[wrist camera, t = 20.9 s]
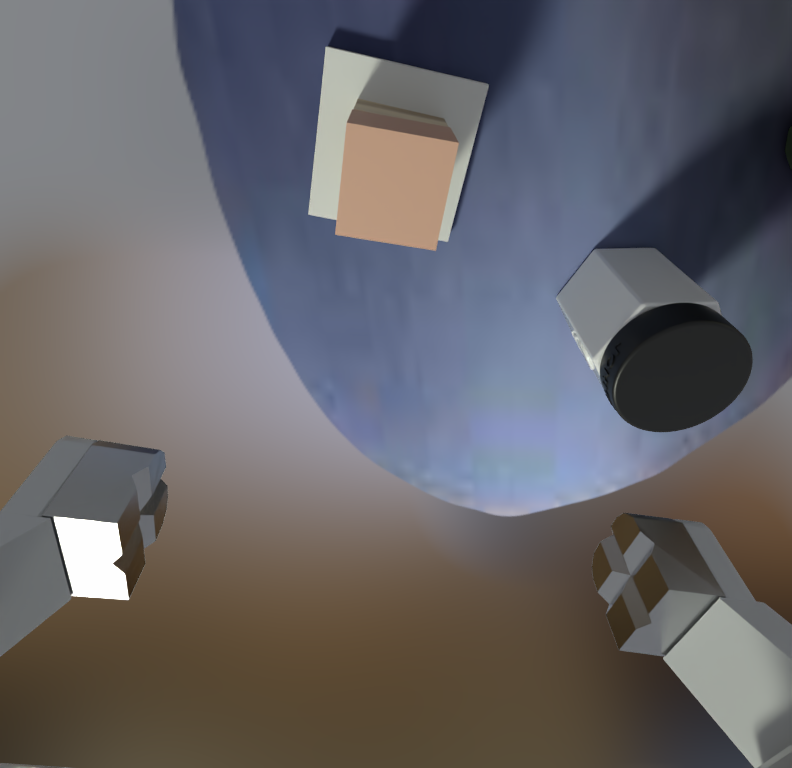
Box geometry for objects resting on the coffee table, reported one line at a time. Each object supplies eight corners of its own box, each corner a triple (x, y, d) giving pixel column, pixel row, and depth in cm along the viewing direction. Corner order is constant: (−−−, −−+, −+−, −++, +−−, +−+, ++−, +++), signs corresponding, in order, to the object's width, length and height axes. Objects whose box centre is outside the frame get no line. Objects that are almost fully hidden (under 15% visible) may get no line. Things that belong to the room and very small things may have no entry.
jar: (541, 275, 40) (590, 357, 30) (647, 220, 38) (738, 290, 28) (581, 359, 44) (635, 455, 35) (678, 315, 42) (766, 405, 32)
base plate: (327, 46, 31) (325, 46, 31) (486, 83, 33) (488, 85, 32) (310, 210, 37) (308, 214, 36) (446, 237, 38) (447, 241, 37)
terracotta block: (352, 109, 29) (346, 122, 25) (450, 127, 29) (459, 142, 25) (341, 209, 32) (335, 234, 28) (430, 224, 32) (435, 250, 28)
